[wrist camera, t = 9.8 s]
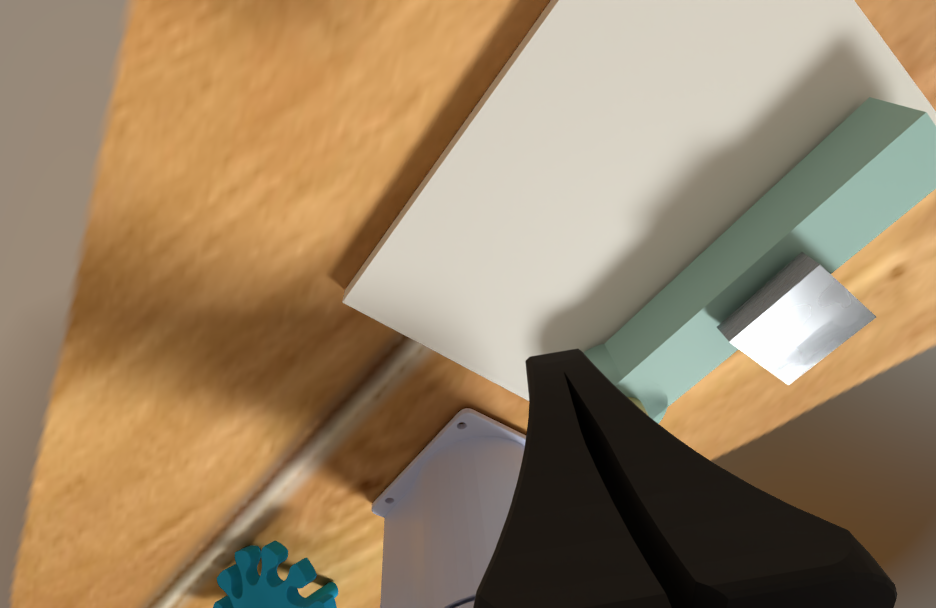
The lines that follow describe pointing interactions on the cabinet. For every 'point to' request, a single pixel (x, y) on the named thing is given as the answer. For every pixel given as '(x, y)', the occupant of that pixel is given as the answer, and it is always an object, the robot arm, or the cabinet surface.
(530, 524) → the robot arm
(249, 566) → the gear
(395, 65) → the cabinet surface
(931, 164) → the latch bar
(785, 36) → the board
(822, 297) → the block
